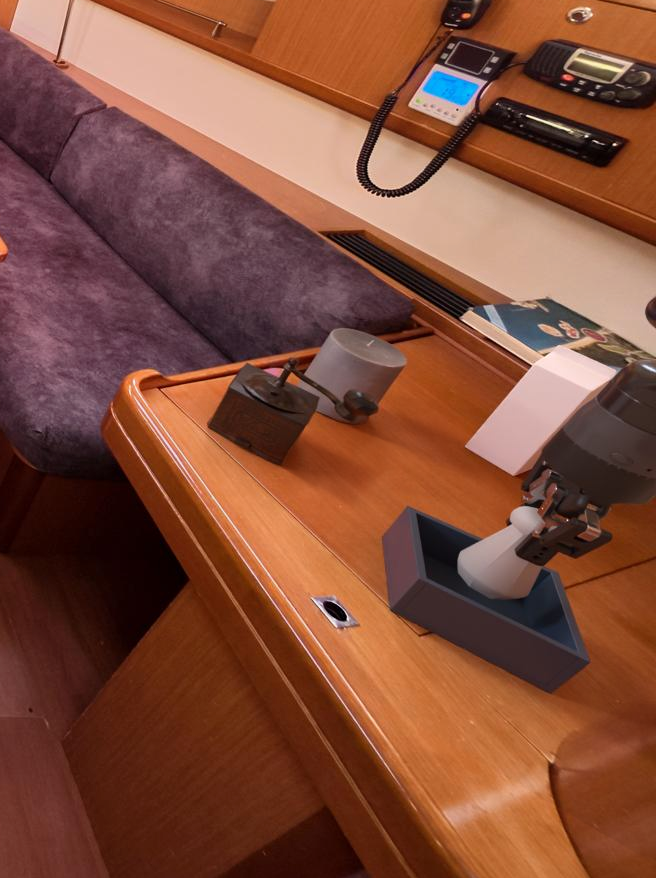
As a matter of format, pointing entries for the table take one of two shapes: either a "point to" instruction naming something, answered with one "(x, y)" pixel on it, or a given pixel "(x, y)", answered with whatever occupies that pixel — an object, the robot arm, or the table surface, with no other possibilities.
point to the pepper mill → (277, 410)
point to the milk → (539, 409)
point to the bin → (480, 604)
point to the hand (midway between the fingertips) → (522, 543)
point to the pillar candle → (353, 368)
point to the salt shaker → (502, 560)
